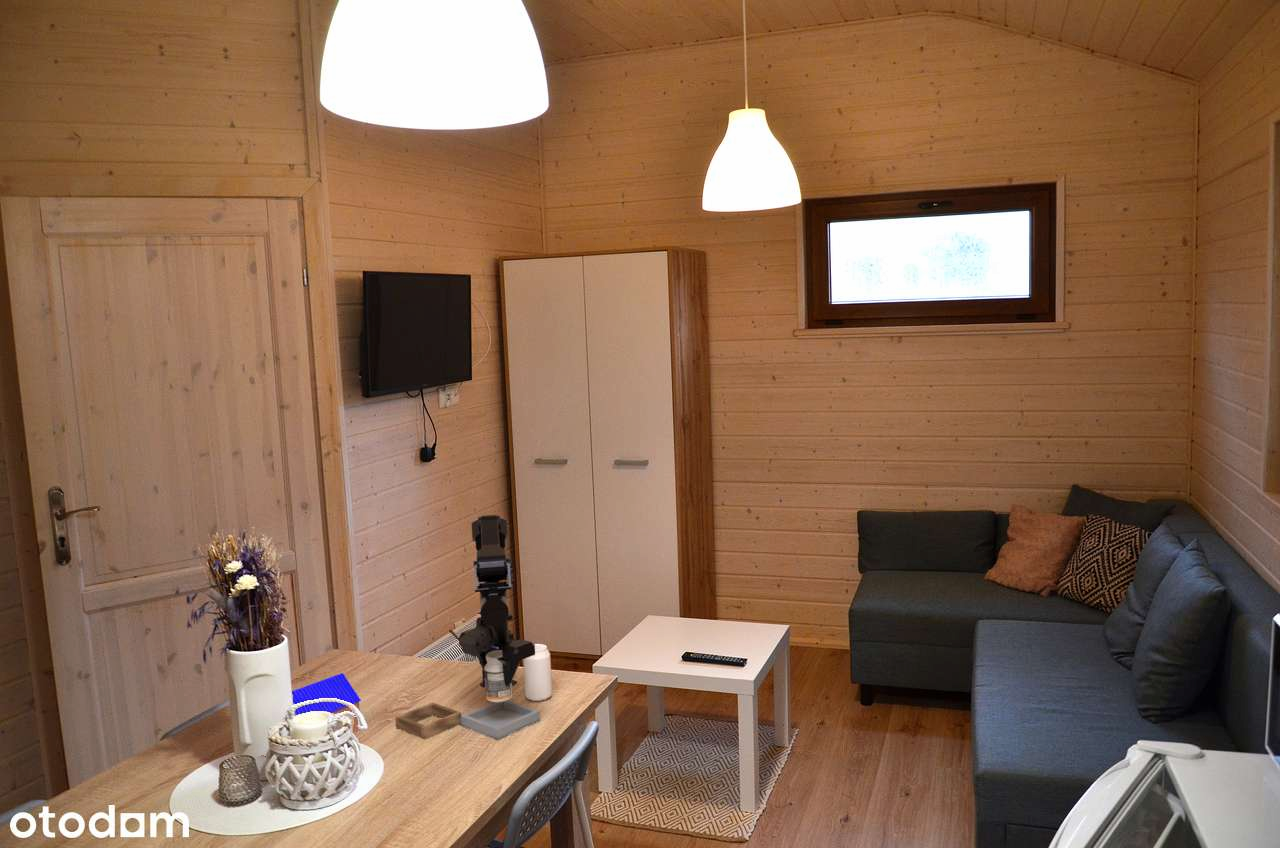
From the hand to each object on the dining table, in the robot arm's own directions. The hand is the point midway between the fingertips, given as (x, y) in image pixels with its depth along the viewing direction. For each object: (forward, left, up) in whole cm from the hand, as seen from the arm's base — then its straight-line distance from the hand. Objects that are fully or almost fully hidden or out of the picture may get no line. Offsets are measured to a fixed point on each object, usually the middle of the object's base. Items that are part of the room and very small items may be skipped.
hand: (498, 682), depth 214 cm
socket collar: (+10, -12, -9) cm, 18 cm away
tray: (0, 0, -9) cm, 9 cm away
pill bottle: (0, 0, -4) cm, 4 cm away
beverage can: (-15, -4, -9) cm, 18 cm away
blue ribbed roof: (+30, -28, -10) cm, 42 cm away
